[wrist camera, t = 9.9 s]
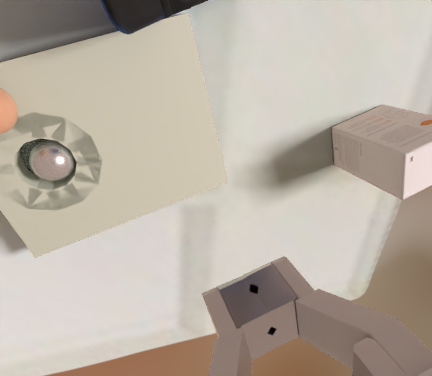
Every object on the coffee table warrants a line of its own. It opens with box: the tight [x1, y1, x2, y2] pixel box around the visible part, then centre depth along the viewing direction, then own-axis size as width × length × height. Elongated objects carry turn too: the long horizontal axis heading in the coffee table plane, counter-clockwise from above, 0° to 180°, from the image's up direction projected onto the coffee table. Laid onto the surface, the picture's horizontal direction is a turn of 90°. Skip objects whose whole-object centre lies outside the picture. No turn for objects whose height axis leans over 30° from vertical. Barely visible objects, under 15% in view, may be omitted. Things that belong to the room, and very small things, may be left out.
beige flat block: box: [0, 13, 228, 258], centre depth 27 cm, size 16×20×2 cm
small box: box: [332, 105, 432, 200], centre depth 35 cm, size 8×6×10 cm
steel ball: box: [29, 140, 75, 181], centre depth 26 cm, size 4×4×4 cm
